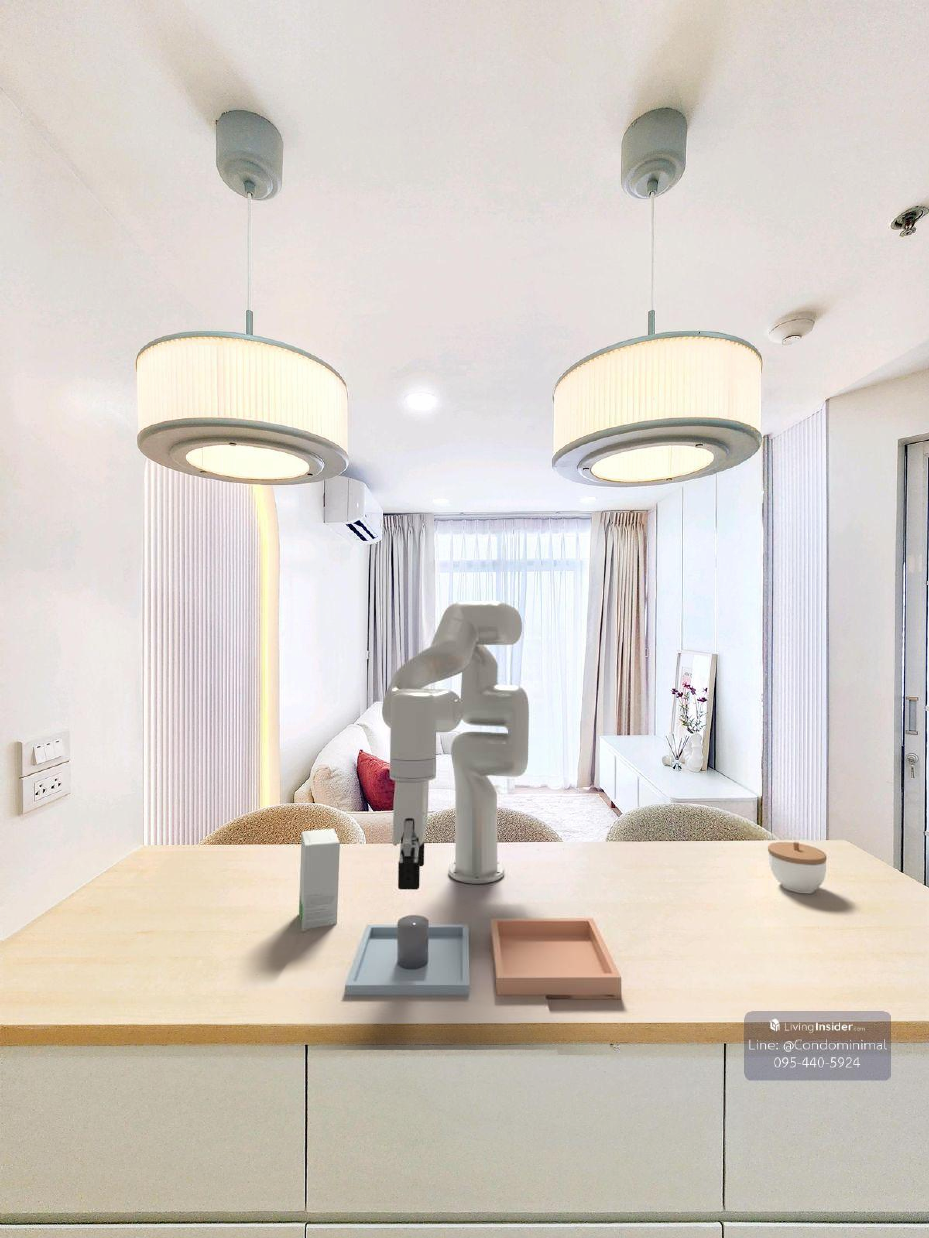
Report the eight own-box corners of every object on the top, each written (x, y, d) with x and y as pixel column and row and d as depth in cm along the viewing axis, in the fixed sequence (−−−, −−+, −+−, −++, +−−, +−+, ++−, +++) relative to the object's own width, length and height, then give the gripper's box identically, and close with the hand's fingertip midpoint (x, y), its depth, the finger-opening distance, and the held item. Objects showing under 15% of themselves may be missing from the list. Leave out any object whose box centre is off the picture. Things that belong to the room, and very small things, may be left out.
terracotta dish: (491, 935, 99) (491, 918, 99) (593, 935, 99) (592, 918, 99) (497, 998, 81) (497, 977, 81) (621, 998, 81) (621, 977, 81)
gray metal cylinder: (399, 952, 93) (399, 914, 93) (429, 952, 93) (429, 914, 93) (395, 969, 88) (395, 929, 88) (427, 969, 88) (427, 929, 88)
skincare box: (298, 913, 108) (299, 830, 109) (333, 907, 110) (334, 826, 111) (302, 933, 100) (303, 844, 101) (339, 927, 102) (340, 840, 103)
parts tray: (366, 936, 99) (366, 924, 99) (468, 935, 99) (468, 924, 99) (344, 999, 81) (345, 985, 81) (469, 999, 81) (469, 984, 81)
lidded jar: (811, 878, 124) (809, 834, 124) (838, 899, 113) (836, 852, 114) (760, 876, 125) (759, 833, 126) (782, 897, 114) (781, 850, 115)
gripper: (396, 759, 100) (395, 858, 99) (382, 779, 83) (380, 898, 82) (438, 759, 100) (437, 858, 99) (433, 779, 83) (431, 899, 82)
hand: (411, 876), depth 90 cm, fingers open, 9 cm apart
